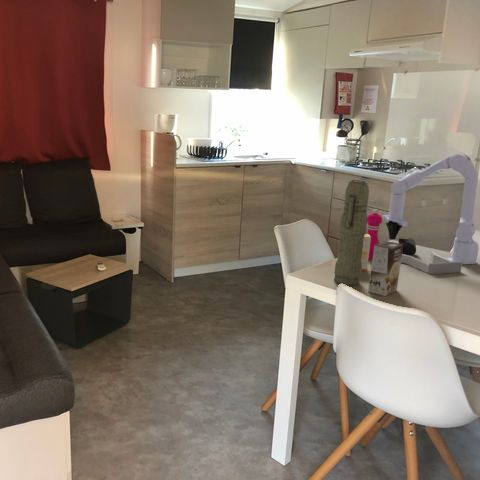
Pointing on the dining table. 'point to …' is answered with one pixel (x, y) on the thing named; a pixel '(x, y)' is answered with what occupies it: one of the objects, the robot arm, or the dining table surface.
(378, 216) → the pepper mill
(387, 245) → the coffee box
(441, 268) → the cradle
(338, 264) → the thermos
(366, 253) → the cream bottle
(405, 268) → the dining table surface
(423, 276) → the dining table surface
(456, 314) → the dining table surface
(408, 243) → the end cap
